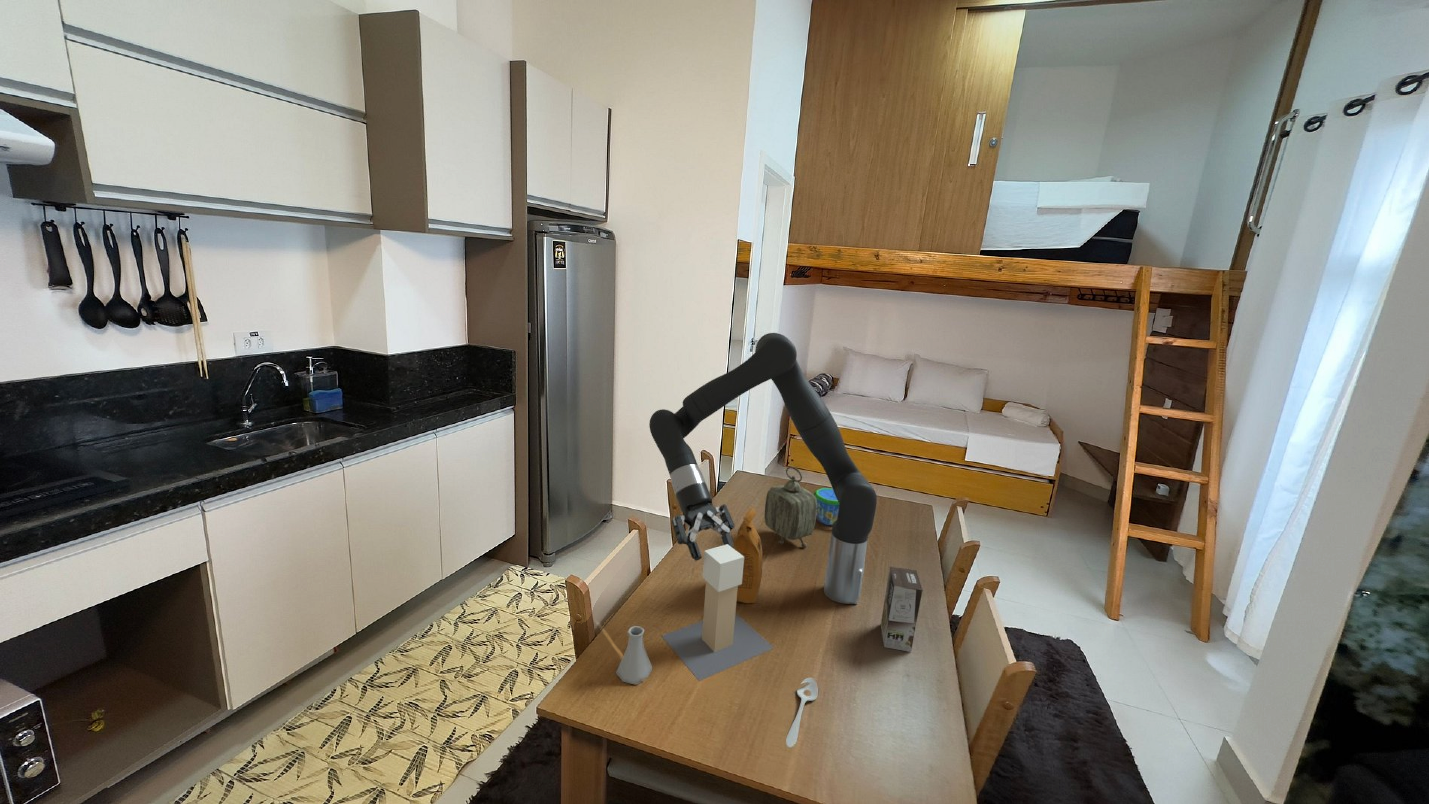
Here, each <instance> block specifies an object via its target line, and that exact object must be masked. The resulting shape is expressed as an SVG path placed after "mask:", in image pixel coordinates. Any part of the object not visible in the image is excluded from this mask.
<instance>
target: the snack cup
mask: <svg viewBox="0 0 1429 804" xmlns="http://www.w3.org/2000/svg"><path fill="white" fill-rule="evenodd" d="M812 494H813V495H814V496H815V497H816V502H817V513H816V520H817V521H818V522H819V523H821V524H823V525H826V526H833V523H834V521H836V520H837V517H838V511H839V502H838V500H837V498H836V496H835V493H834V490H833V488H832V487H831V488H830V487H822V488H819V489H816V490H815V491H814V492H813V493H812Z"/></svg>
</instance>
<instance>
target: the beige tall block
mask: <svg viewBox="0 0 1429 804" xmlns="http://www.w3.org/2000/svg"><path fill="white" fill-rule="evenodd" d="M737 589H738V586H735V587H732V588H729V589H726V590H723V591H720V592H718V591H717V590H716V589H715V588H714V587H712V586H711V585H710V584H709V583H708V582H707V581H706V580H705V590H704V593H705V594H704V607H703V618H702V621H703V631H702V640H703V641H704V642H705V643H706V644H707V645H708V646H709V647H710V648H711V649H712V650H713V651H714V652H716V651H719V650H721V649H724V648H726V647H728V646H731V645H733V635H734V624H735V613H736V612H737V602H738V601H737Z"/></svg>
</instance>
